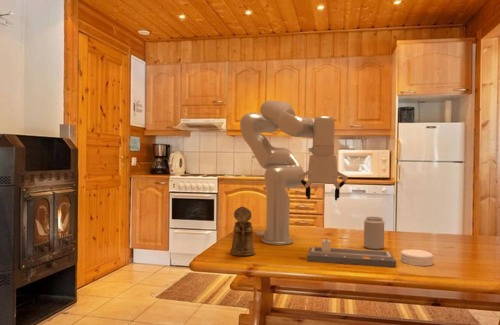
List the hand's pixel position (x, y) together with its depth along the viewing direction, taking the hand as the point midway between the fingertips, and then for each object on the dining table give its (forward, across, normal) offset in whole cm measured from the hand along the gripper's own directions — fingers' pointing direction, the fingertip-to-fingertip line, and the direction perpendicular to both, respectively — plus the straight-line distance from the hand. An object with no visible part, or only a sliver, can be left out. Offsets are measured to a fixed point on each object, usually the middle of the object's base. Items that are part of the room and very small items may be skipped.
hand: (322, 199), depth 135 cm
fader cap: (+18, +2, -3) cm, 18 cm away
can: (+20, +18, +20) cm, 33 cm away
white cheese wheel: (+20, +32, +3) cm, 38 cm away
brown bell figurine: (+20, -26, -10) cm, 35 cm away
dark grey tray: (+20, +10, -2) cm, 22 cm away
